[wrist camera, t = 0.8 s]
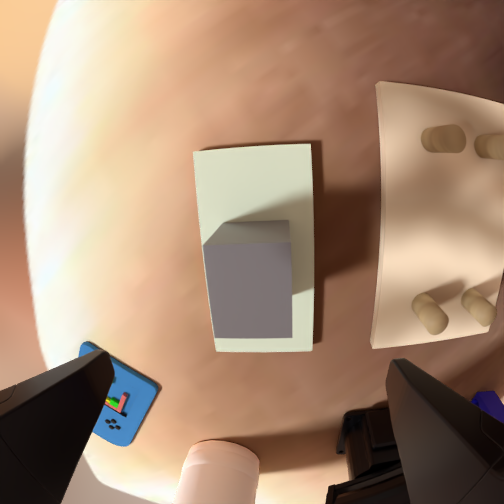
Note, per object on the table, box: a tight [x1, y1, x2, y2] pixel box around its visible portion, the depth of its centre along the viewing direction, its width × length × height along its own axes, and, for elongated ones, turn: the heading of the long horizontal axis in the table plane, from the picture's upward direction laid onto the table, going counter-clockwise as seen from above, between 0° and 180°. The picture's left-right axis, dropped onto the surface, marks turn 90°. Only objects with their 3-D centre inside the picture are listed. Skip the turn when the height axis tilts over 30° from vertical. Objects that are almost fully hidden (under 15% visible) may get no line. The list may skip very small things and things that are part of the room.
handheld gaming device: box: [79, 342, 158, 446], centre depth 26 cm, size 8×1×15 cm
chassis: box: [370, 81, 504, 349], centre depth 16 cm, size 18×11×4 cm, turn 4°
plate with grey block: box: [193, 144, 314, 352], centre depth 17 cm, size 7×14×6 cm, turn 4°
